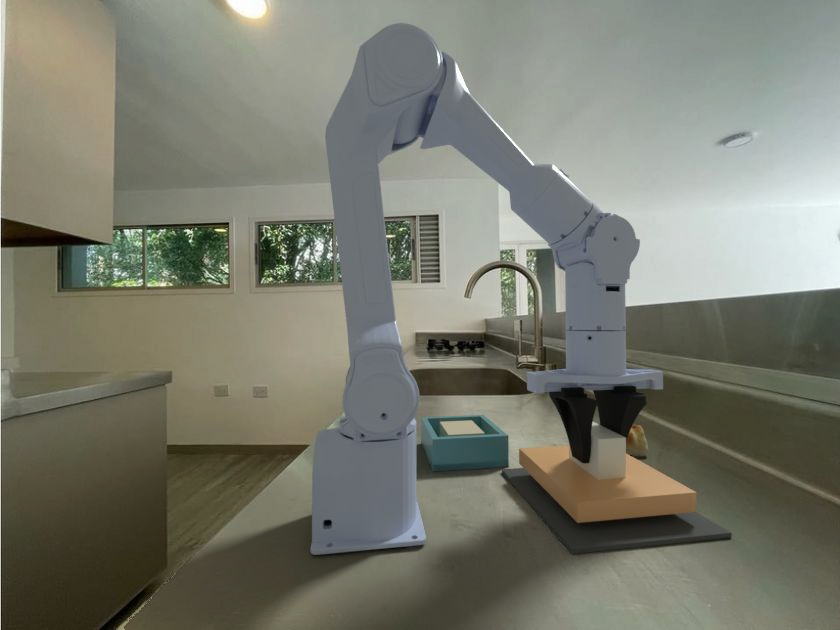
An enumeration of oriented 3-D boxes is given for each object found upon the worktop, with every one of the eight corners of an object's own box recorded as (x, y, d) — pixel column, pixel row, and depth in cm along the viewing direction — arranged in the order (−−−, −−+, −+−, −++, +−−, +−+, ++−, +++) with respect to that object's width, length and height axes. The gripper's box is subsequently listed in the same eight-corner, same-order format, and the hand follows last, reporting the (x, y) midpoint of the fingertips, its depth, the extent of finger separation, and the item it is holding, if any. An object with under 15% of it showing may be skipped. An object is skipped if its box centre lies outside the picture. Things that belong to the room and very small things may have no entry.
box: (432, 471, 43) (432, 439, 43) (421, 443, 53) (421, 417, 53) (508, 466, 44) (508, 435, 44) (483, 440, 54) (483, 414, 54)
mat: (572, 554, 27) (572, 549, 27) (501, 472, 42) (501, 469, 42) (731, 537, 30) (731, 532, 30) (611, 465, 44) (611, 462, 44)
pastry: (577, 451, 50) (577, 425, 50) (573, 437, 56) (573, 414, 56) (652, 460, 47) (652, 432, 47) (638, 444, 53) (638, 419, 53)
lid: (577, 522, 29) (577, 456, 29) (519, 463, 41) (519, 415, 41) (696, 511, 31) (696, 448, 31) (607, 457, 43) (608, 411, 43)
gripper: (627, 329, 41) (629, 441, 41) (514, 329, 39) (515, 448, 39) (680, 330, 34) (682, 466, 34) (545, 331, 32) (546, 475, 32)
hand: (596, 458), depth 36 cm, fingers closed on lid, 3 cm apart
